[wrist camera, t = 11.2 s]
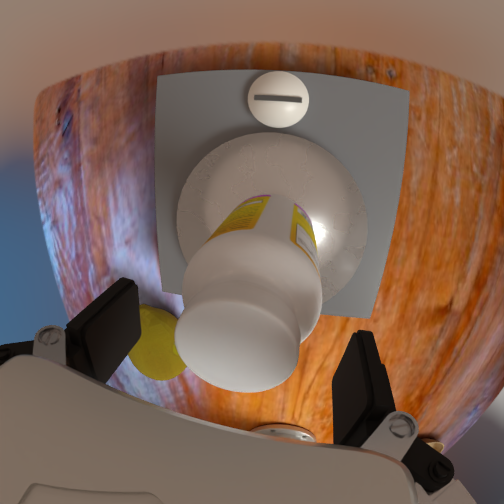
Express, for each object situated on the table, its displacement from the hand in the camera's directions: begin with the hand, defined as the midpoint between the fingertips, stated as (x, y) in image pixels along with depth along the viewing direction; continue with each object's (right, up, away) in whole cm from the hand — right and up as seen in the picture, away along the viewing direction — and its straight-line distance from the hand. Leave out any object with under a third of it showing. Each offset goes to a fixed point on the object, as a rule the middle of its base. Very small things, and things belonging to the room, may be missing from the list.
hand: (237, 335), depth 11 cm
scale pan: (+2, +5, +11) cm, 12 cm away
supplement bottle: (+2, +5, +10) cm, 12 cm away
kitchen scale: (+3, +9, +15) cm, 18 cm away
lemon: (-10, -6, +24) cm, 27 cm away
